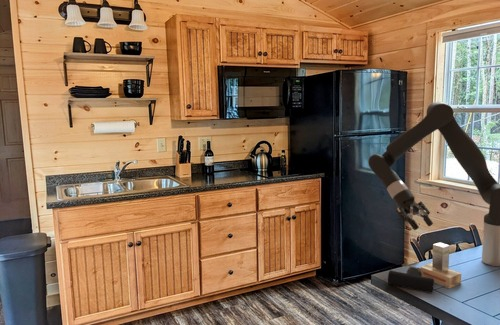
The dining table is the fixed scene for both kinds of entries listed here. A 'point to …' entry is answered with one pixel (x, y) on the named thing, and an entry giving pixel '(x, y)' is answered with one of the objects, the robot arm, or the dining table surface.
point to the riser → (442, 276)
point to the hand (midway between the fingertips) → (424, 227)
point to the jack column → (440, 257)
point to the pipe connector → (411, 280)
